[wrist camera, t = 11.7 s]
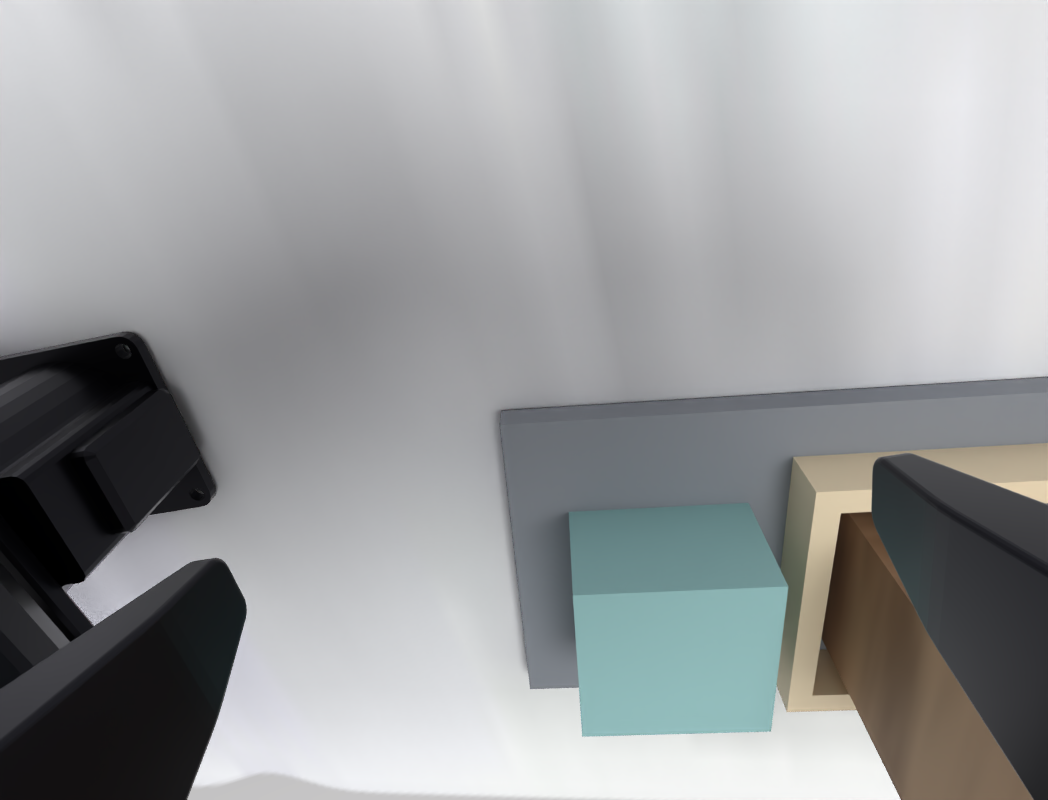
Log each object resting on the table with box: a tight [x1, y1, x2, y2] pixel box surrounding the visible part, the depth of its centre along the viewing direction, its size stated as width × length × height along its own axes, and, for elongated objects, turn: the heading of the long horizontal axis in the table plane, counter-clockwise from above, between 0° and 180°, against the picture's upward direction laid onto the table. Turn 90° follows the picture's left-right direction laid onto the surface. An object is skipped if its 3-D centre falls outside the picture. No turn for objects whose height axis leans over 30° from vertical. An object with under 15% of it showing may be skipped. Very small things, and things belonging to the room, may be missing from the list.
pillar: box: [821, 503, 1046, 800], centre depth 17 cm, size 6×6×12 cm
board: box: [500, 377, 1048, 737], centre depth 21 cm, size 24×12×5 cm, turn 95°
